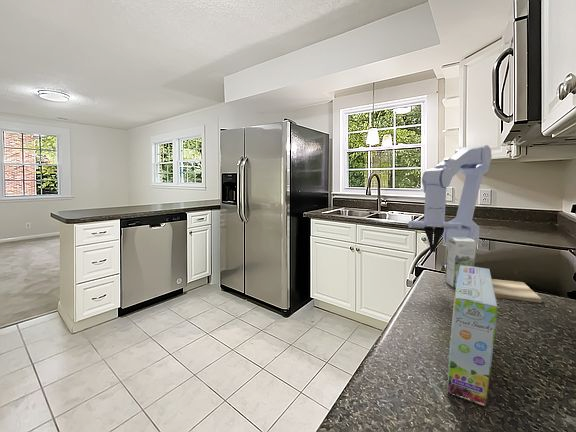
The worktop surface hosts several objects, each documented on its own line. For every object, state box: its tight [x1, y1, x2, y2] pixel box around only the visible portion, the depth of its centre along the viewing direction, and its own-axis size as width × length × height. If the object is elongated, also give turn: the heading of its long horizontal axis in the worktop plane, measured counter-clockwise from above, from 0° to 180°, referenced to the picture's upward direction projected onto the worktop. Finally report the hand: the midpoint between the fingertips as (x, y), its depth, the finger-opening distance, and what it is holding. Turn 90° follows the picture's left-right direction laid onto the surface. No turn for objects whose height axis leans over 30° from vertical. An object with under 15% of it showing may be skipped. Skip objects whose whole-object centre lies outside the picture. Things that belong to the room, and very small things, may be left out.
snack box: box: [446, 265, 498, 404], centre depth 50 cm, size 21×6×15 cm, turn 148°
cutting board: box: [492, 278, 543, 303], centre depth 85 cm, size 14×14×1 cm
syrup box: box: [444, 237, 477, 289], centre depth 88 cm, size 6×6×14 cm
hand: (432, 251), depth 91 cm, fingers closed
